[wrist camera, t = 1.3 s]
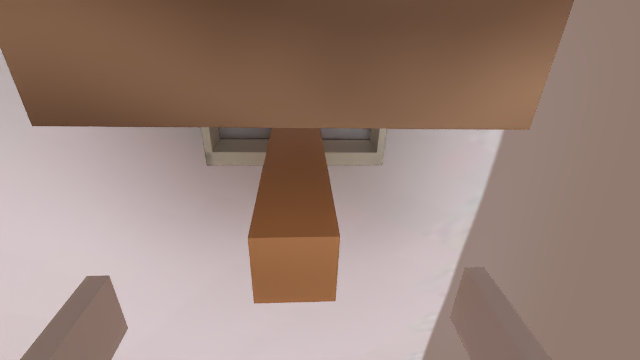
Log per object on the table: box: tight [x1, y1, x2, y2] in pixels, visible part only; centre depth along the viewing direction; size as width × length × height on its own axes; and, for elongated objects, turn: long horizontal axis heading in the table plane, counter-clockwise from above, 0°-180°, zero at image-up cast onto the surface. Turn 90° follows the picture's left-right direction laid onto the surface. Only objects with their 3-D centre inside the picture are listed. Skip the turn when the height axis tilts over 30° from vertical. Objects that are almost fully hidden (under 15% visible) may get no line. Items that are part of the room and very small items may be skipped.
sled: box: [201, 127, 387, 303], centre depth 15 cm, size 20×12×14 cm, turn 178°
